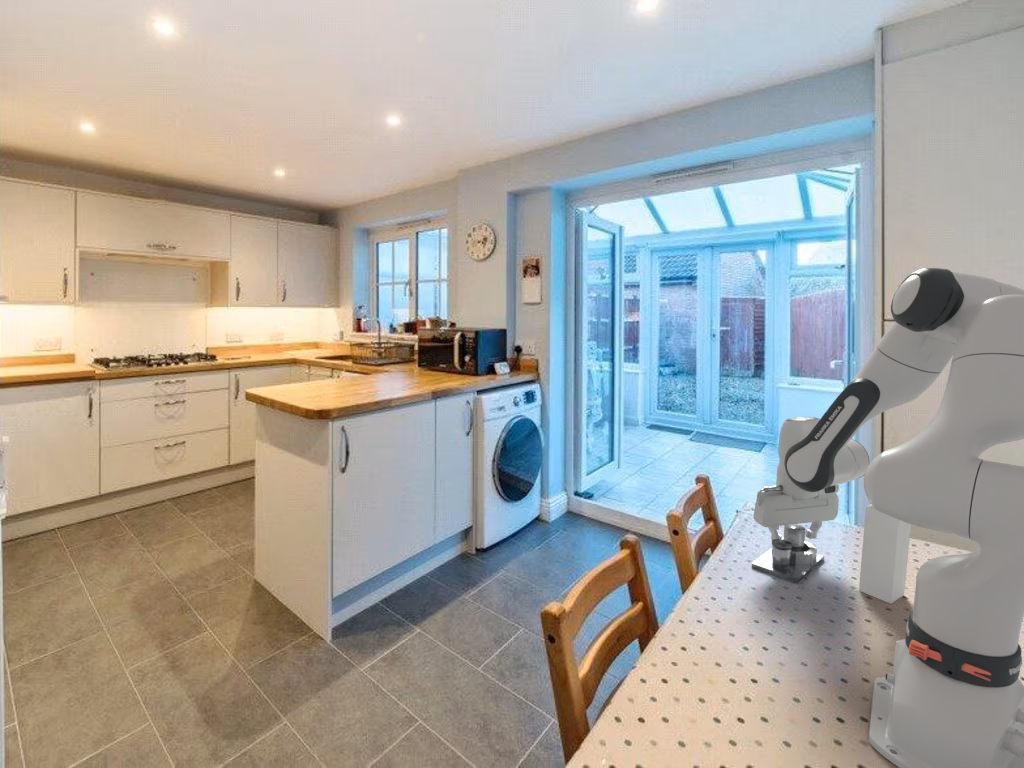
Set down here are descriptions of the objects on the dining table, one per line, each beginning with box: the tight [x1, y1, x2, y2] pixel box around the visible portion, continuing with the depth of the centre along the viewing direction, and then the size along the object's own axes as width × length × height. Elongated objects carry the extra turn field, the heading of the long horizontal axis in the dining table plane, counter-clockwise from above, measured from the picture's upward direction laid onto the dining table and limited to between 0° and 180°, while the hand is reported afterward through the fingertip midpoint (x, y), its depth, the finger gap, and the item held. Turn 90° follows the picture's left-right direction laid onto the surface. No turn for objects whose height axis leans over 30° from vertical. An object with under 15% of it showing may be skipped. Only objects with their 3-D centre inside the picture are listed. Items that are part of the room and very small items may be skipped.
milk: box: [858, 503, 912, 605], centre depth 103 cm, size 6×6×22 cm
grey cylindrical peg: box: [783, 524, 806, 552], centre depth 119 cm, size 4×4×7 cm
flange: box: [751, 536, 825, 585], centre depth 117 cm, size 16×10×7 cm, turn 130°
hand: (793, 539), depth 119 cm, fingers open, 8 cm apart
